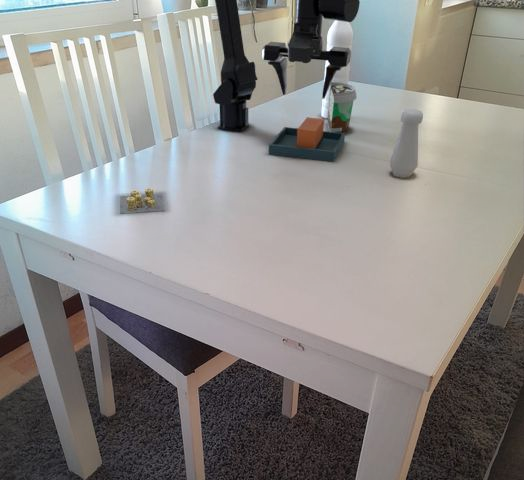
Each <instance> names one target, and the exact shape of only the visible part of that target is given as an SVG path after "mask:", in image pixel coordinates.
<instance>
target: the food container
mask: <svg viewBox="0 0 524 480" xmlns="http://www.w3.org/2000/svg"><path fill="white" fill-rule="evenodd" d="M357 98H358V97H357V91H356V86H354V85H352V84H349V83H348V84H344V83H337V82H331V85H330V99H329V112H328V119H327V127H328V131H329V132H338V133H345V134H347V133H348V131H349V128H350V122H351V117H352V110H353V106H354V101H355V100H357Z"/></svg>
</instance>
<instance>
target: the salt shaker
mask: <svg viewBox="0 0 524 480" xmlns="http://www.w3.org/2000/svg"><path fill="white" fill-rule="evenodd" d="M423 119H424V113H423V112H422V110H420V109H417V108H406V109H404V110H403V111H402V112H401V114H400V122H401V123H402V125H401V127H400V131H399V134H398V136H397V140H396V142H395V146H394V148H393V151H392V153H391V154H392V155H391V157H390V161H389V166H390V169H391V174H392V175H393V177H397V178H402V179H403V178H405V179H406V178H411V176H412V175H413V174H414V172H415V171H416V169H418V167H419V166H418V165H419V125H420V124H422V122H423Z"/></svg>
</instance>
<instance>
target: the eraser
mask: <svg viewBox="0 0 524 480" xmlns="http://www.w3.org/2000/svg"><path fill="white" fill-rule="evenodd" d="M324 126H325V118H319V117H306V118H305V119H304V121H303V122H302V123H301V124H300V125H299V127H297V128H298V130H297V147H302V148H311V149H317V148H318V146H319V145H320V143H321V142H322V140H323V131H324V128H325V127H324Z"/></svg>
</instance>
